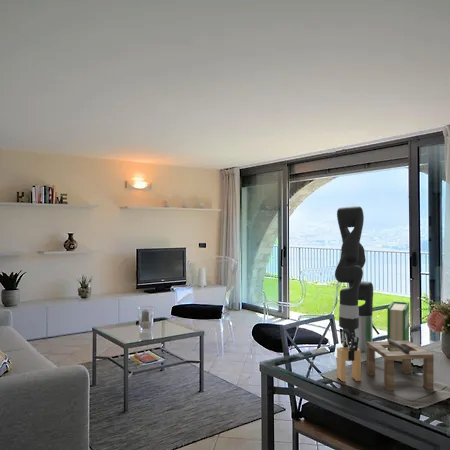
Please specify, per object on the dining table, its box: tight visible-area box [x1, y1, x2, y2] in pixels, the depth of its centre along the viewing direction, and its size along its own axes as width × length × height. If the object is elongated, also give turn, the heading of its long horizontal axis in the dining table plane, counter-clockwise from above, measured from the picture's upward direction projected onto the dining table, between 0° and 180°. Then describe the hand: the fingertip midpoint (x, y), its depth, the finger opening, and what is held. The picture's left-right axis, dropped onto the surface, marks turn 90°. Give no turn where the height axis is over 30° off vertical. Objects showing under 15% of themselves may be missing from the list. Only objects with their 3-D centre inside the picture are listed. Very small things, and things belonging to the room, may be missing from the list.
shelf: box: [365, 339, 434, 392], centre depth 165 cm, size 18×18×15 cm
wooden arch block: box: [336, 346, 362, 382], centre depth 166 cm, size 4×8×12 cm, turn 96°
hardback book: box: [386, 300, 410, 363], centre depth 193 cm, size 18×7×24 cm, turn 151°
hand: (348, 358), depth 166 cm, fingers closed on wooden arch block, 4 cm apart
